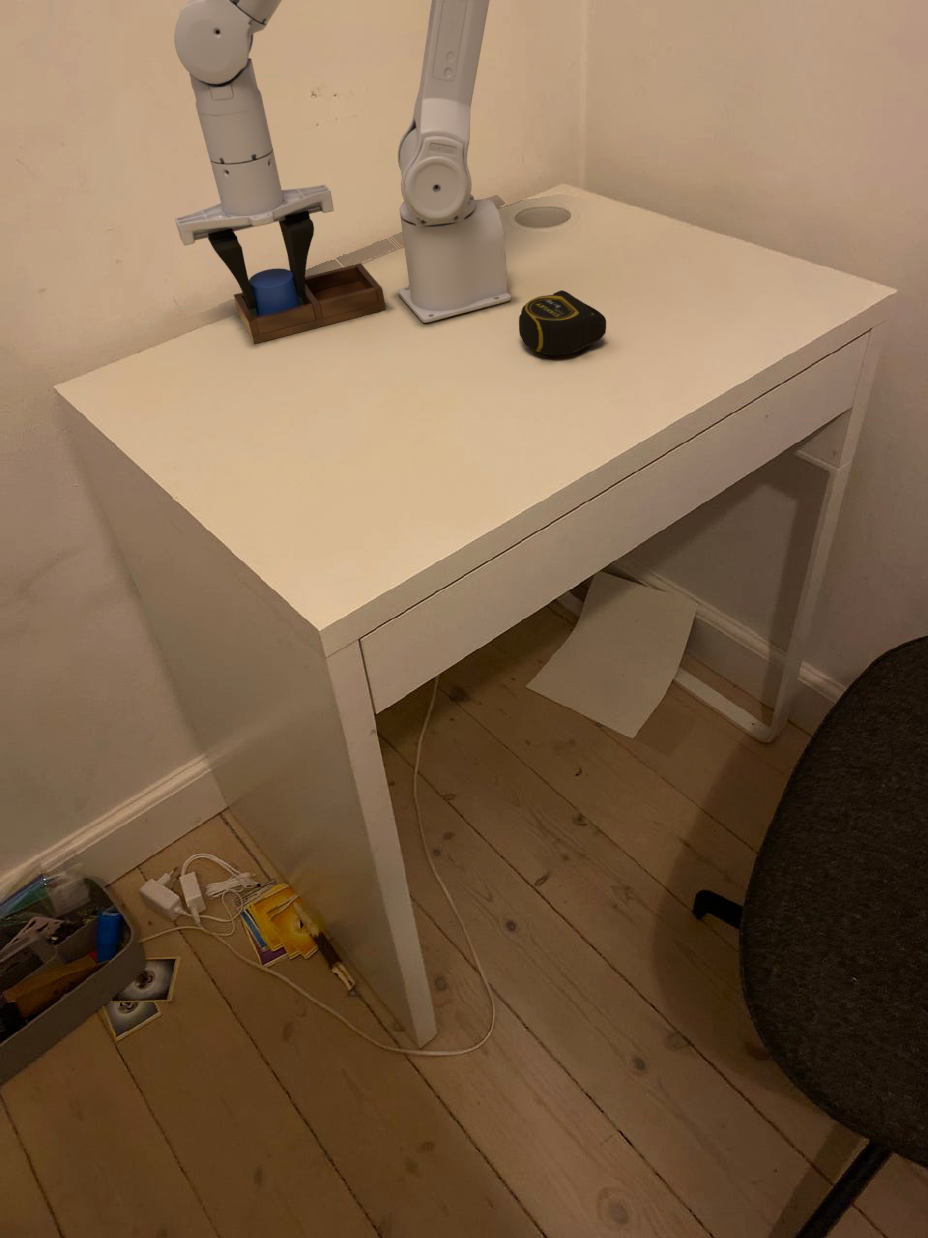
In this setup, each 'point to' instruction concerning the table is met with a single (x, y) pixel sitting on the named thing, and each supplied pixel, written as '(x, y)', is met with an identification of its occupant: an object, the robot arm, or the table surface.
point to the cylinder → (274, 291)
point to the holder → (318, 304)
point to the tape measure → (560, 324)
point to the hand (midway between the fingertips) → (275, 298)
